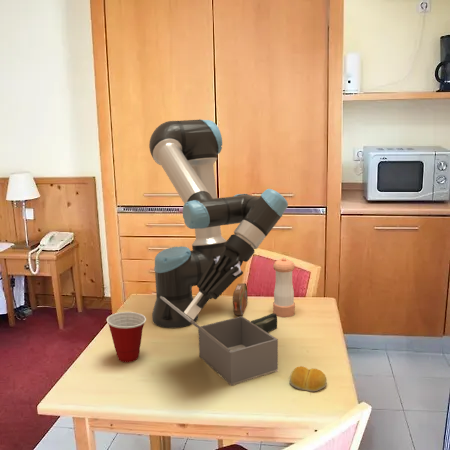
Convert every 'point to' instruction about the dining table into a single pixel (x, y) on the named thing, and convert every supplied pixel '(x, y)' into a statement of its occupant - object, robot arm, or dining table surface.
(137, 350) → the plastic cup
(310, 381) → the bread roll
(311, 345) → the dining table surface
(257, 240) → the robot arm
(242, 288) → the tin
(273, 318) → the black elongated piece
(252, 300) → the dining table surface
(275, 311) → the salt shaker
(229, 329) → the box
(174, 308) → the box lid
